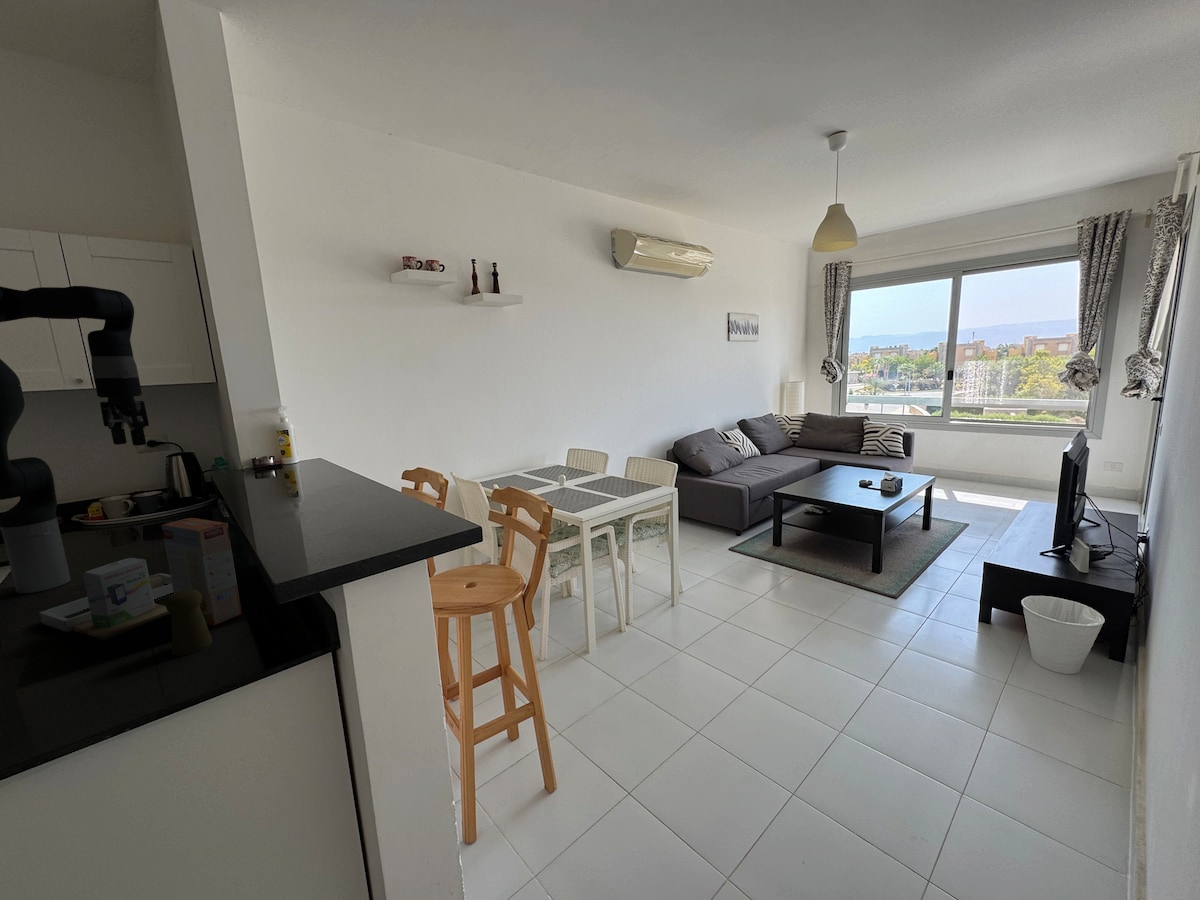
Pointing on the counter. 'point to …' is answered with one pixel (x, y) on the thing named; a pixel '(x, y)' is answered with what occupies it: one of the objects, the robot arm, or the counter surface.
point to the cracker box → (203, 565)
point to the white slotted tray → (57, 614)
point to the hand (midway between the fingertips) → (130, 444)
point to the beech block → (155, 581)
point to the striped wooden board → (135, 621)
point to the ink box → (118, 591)
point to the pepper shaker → (187, 623)
